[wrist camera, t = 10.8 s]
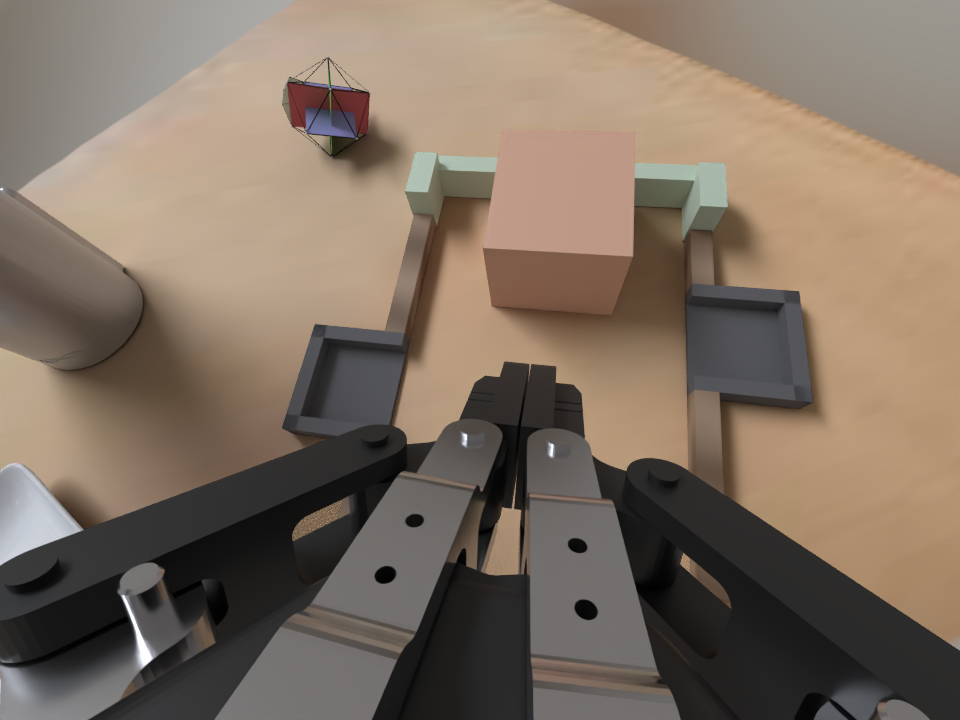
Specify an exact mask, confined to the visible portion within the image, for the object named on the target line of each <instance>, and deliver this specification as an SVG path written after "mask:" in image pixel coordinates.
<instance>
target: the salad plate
mask: <svg viewBox="0 0 960 720" xmlns="http://www.w3.org/2000/svg"><path fill="white" fill-rule="evenodd" d="M82 530H84V529H83V528H82V527H81V526H80V525H79V524H78V523H77V522H76V520H75V519H74V518H73V517H72V516H71V515H70V514H69V512H68V511H67V510H66V509H65V508H64V507H63V506H62V504H61V503H60V502H59V501H58V500H57V499H56V498H55V496H54V495H53V494H52V493H51V492H50V491H49V489H48V488H47V487H46V486H45V485H44V483H43V482H42V481H41V480H40V479H39V478H38V477H37V476H36V475H35V474H34V473H33V472H32V471H31V470H30V469H29V468H28V467H26V466H25V465H23V464H20V463H11V464H9V465H7V466H5V467H4V468H3V469H2V470H0V565H2V564H3V563H5V562H7V561H8V560H10V559H12V558H14V557H16V556H18V555H20V554H22V553H24V552H26V551H29V550H31V549H34V548H36V547H39V546H42V545H45V544H47V543H50V542H53V541H55V540H58V539H61V538H63V537H66V536H69V535H72V534H74V533H77V532H80V531H82ZM0 690H1V680H0Z"/></svg>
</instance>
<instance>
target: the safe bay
mask: <svg viewBox="0 0 960 720" xmlns="http://www.w3.org/2000/svg"><path fill="white" fill-rule="evenodd" d="M497 160H498V158H488V157H461V156H438V154H437V153H426V152H415V156H414V160H413V163H412V167H411V171H410V175H409V178H408V182H407V186H406V190H405V193H406V195H407V198H408V201H409V204H410V207H411V210H412V213H413V216H414V213H416V214H432V215H433V219H434V222H435V226H436V227H437V226H438V222H439V217H440V213H441V208H442V204H443V199H444V196H449V197H469V198H489V199H491V196H492V190H493V184H494V178H495V172H496V166H497ZM634 206H648V207H668V208H682V241H685V239H686V237H687V235H688V233H689V231H690V229H698V230H712V233H713V231H714V230H715V228H716V226H717V224H718V223H719V221H720V219H721V218H722V216H723V214H724V213H725V211H726V209H727V208H728V203H727V188H726V172H725V163H704V162H699V163H698V165H677V164H650V163H635V183H634Z"/></svg>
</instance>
